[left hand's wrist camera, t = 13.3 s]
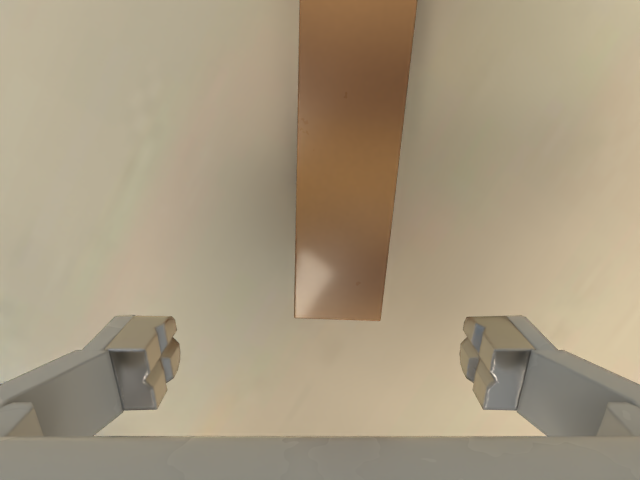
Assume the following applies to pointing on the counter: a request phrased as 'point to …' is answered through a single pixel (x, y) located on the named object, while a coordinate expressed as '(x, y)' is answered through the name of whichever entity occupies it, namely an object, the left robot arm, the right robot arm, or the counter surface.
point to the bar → (348, 151)
